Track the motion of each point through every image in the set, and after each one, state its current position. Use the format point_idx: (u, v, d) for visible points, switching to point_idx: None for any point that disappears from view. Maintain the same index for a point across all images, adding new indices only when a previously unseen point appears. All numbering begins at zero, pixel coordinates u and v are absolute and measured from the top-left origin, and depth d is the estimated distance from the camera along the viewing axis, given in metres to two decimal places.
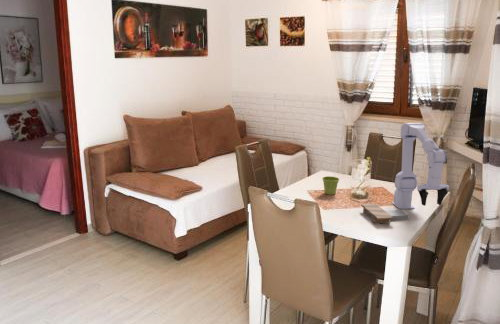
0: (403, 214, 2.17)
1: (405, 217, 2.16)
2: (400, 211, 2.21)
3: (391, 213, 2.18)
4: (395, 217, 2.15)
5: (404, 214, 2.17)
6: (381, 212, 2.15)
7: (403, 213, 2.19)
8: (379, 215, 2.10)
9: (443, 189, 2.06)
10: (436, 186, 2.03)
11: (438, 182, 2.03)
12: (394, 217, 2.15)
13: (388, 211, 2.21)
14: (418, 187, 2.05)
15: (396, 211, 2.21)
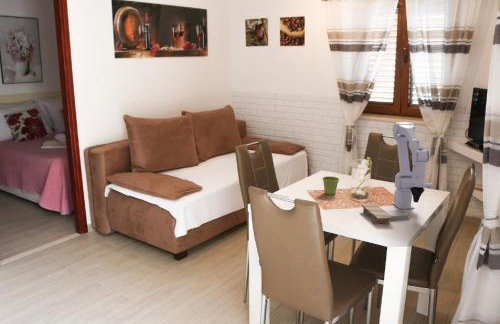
0: (403, 214, 2.17)
1: (405, 217, 2.16)
2: (400, 211, 2.21)
3: (391, 213, 2.18)
4: (395, 217, 2.15)
5: (404, 214, 2.17)
6: (381, 212, 2.15)
7: (403, 213, 2.19)
8: (379, 215, 2.10)
9: None
10: (420, 184, 2.15)
11: (422, 180, 2.14)
12: (394, 217, 2.15)
13: (388, 211, 2.21)
14: (403, 185, 2.17)
15: (396, 211, 2.21)
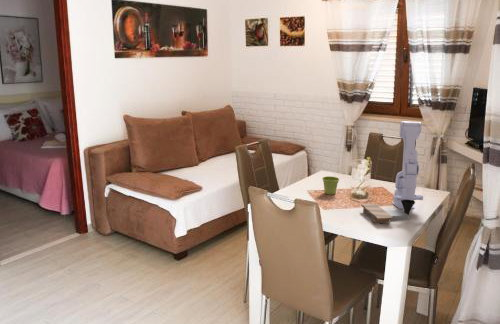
0: (403, 214, 2.17)
1: (405, 217, 2.16)
2: (400, 211, 2.21)
3: (391, 213, 2.18)
4: (395, 217, 2.15)
5: (404, 214, 2.17)
6: (381, 212, 2.15)
7: (403, 213, 2.19)
8: (379, 215, 2.10)
9: (417, 199, 2.19)
10: (410, 197, 2.15)
11: (412, 193, 2.15)
12: (394, 217, 2.15)
13: (388, 211, 2.21)
14: (394, 198, 2.17)
15: (396, 211, 2.21)
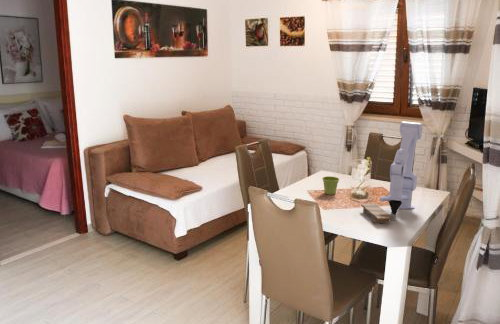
0: (390, 214, 2.16)
1: None
2: (387, 211, 2.20)
3: None
4: None
5: (391, 214, 2.16)
6: (381, 212, 2.15)
7: (390, 213, 2.18)
8: (379, 215, 2.10)
9: (404, 200, 2.18)
10: (397, 197, 2.14)
11: (399, 193, 2.14)
12: None
13: None
14: (381, 198, 2.16)
15: None
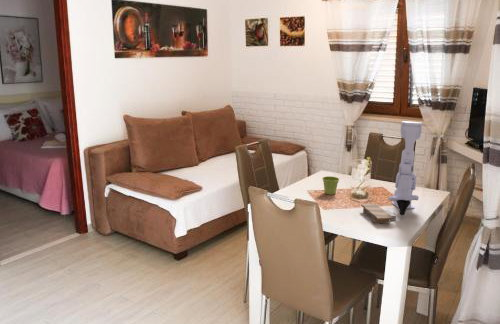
0: (390, 214, 2.16)
1: None
2: (387, 211, 2.20)
3: None
4: None
5: (391, 214, 2.16)
6: (381, 212, 2.15)
7: (390, 213, 2.18)
8: (379, 215, 2.10)
9: None
10: (406, 197, 2.15)
11: (407, 193, 2.15)
12: None
13: None
14: (389, 198, 2.17)
15: None
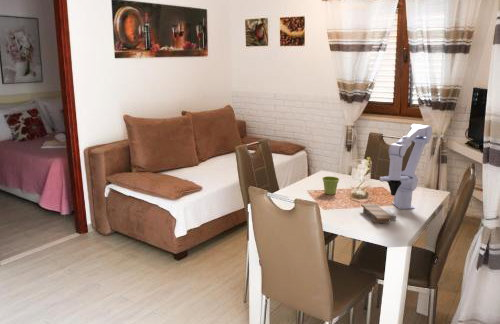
0: (390, 214, 2.16)
1: None
2: (387, 211, 2.20)
3: None
4: None
5: (391, 214, 2.16)
6: (381, 212, 2.15)
7: (390, 213, 2.18)
8: (379, 215, 2.10)
9: (403, 180, 2.22)
10: (397, 177, 2.19)
11: (398, 174, 2.19)
12: None
13: None
14: (380, 178, 2.21)
15: None
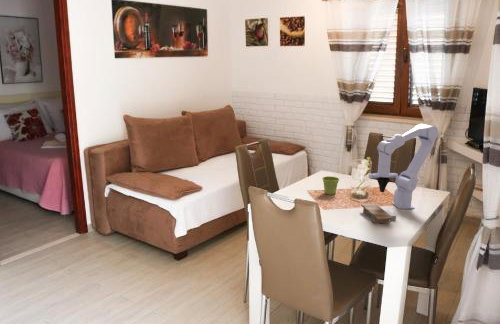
0: (390, 214, 2.16)
1: None
2: (387, 211, 2.20)
3: None
4: None
5: (391, 214, 2.16)
6: (381, 212, 2.15)
7: (390, 213, 2.18)
8: (379, 215, 2.10)
9: (392, 177, 2.26)
10: (385, 174, 2.23)
11: (387, 171, 2.23)
12: None
13: None
14: (369, 175, 2.25)
15: None
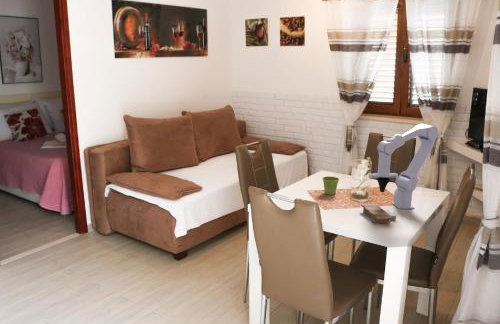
0: (390, 214, 2.16)
1: None
2: (387, 211, 2.20)
3: None
4: None
5: (391, 214, 2.16)
6: (381, 212, 2.15)
7: (390, 213, 2.18)
8: (379, 215, 2.10)
9: (392, 177, 2.26)
10: (385, 174, 2.23)
11: (387, 171, 2.23)
12: None
13: None
14: (369, 175, 2.25)
15: None
